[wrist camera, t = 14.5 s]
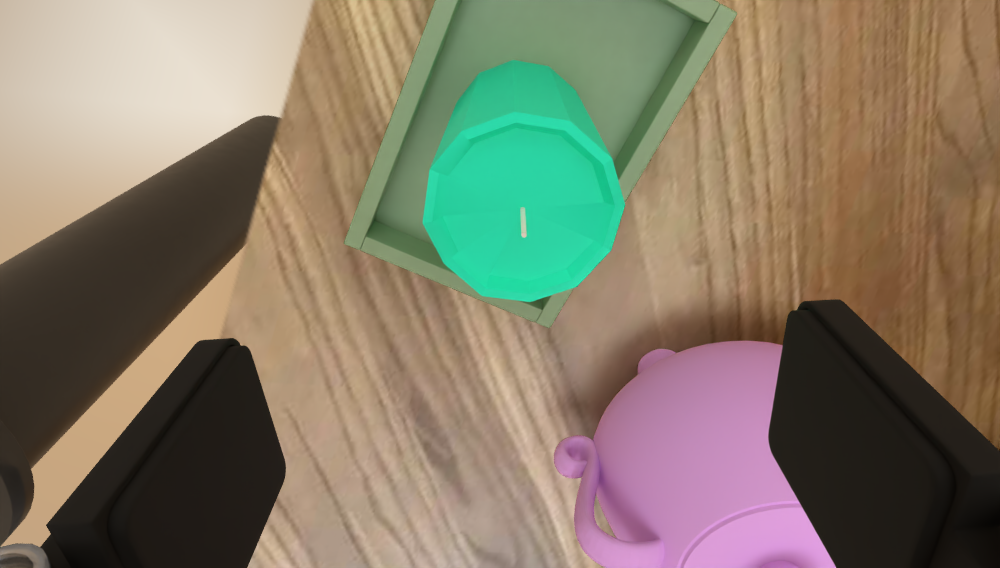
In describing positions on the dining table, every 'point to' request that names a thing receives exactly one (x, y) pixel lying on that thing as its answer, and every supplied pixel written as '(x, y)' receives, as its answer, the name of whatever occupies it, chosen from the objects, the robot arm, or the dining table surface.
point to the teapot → (691, 467)
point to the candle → (522, 186)
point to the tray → (574, 57)
